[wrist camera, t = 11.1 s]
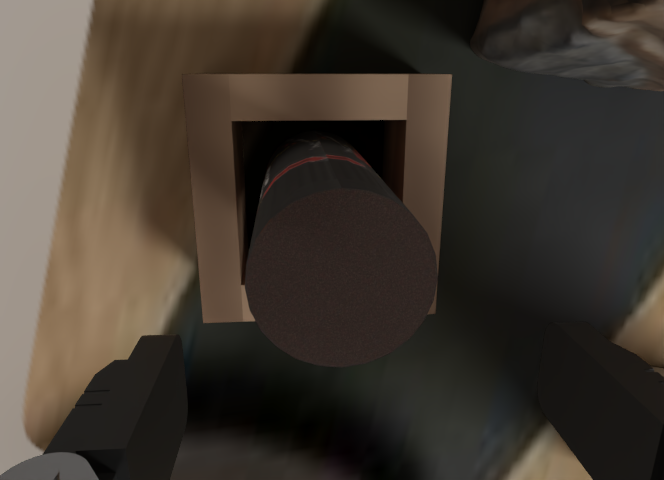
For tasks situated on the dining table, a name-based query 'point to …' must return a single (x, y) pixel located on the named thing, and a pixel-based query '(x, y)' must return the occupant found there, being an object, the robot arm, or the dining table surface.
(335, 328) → the deodorant
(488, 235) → the dining table surface
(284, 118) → the socket block
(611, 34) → the owl
